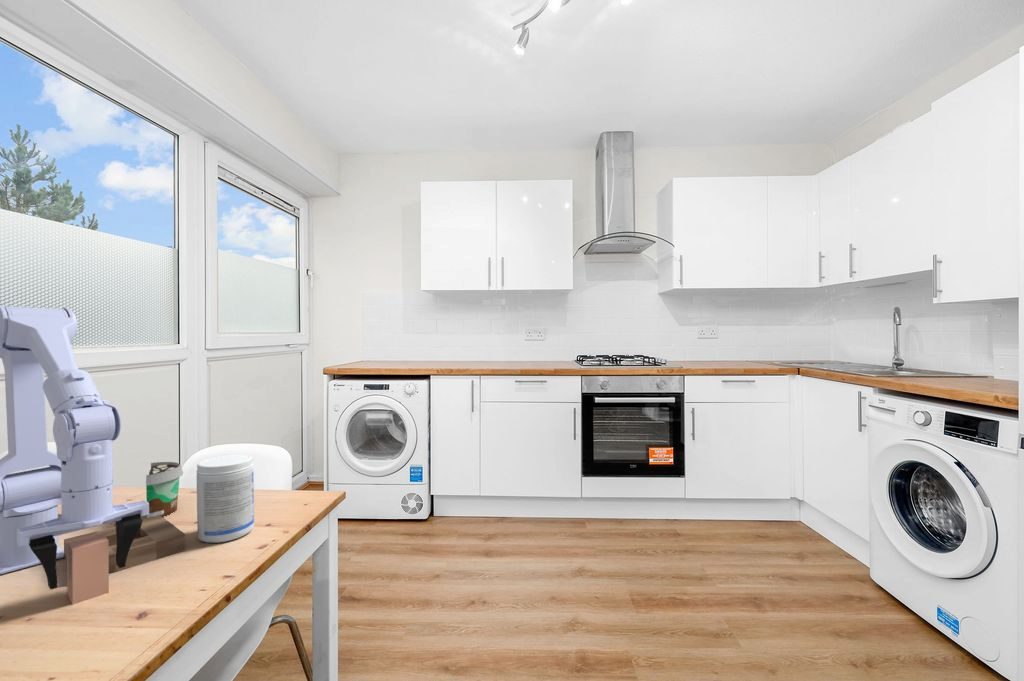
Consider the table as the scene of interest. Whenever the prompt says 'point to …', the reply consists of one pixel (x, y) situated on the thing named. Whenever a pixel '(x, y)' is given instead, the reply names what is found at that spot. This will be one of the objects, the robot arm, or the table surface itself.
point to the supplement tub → (225, 498)
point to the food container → (163, 488)
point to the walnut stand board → (142, 542)
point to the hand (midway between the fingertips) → (88, 575)
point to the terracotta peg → (87, 568)
